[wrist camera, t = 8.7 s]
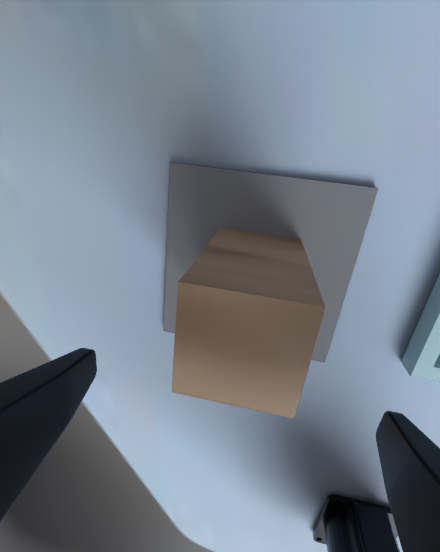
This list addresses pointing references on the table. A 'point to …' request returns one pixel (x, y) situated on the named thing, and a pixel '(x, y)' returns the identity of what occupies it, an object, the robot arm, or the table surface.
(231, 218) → the pad
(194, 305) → the oak block
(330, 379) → the table surface
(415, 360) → the pocket frame
